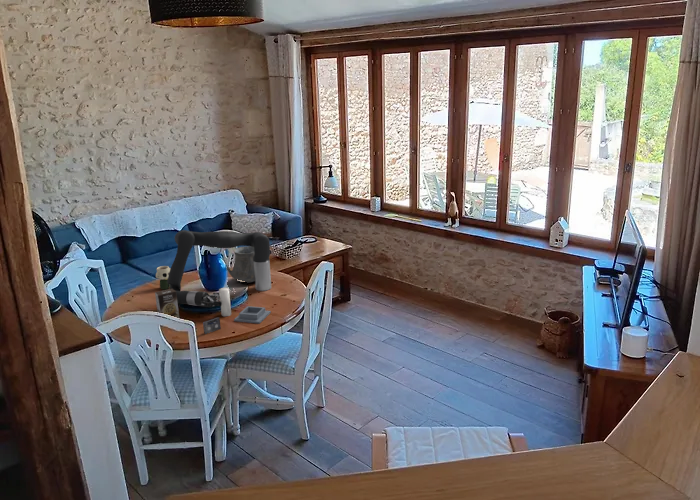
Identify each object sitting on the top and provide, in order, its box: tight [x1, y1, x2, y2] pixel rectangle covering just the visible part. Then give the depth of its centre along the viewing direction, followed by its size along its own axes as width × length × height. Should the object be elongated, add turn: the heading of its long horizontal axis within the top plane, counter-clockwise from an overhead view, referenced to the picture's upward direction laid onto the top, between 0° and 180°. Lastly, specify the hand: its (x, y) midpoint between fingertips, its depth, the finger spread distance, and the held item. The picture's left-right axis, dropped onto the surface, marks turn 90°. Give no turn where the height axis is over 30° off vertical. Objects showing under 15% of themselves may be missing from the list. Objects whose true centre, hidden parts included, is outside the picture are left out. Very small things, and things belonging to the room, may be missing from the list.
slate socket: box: [233, 305, 272, 324], centre depth 280 cm, size 14×14×4 cm
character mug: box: [155, 265, 171, 290], centre depth 323 cm, size 11×7×13 cm, turn 149°
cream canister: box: [218, 287, 232, 317], centre depth 283 cm, size 5×5×14 cm
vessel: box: [226, 246, 255, 284], centre depth 333 cm, size 22×22×20 cm
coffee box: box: [154, 288, 180, 319], centre depth 276 cm, size 9×6×16 cm
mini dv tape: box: [202, 317, 222, 335], centre depth 265 cm, size 8×2×6 cm, turn 133°
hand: (225, 300), depth 283 cm, fingers open, 8 cm apart
